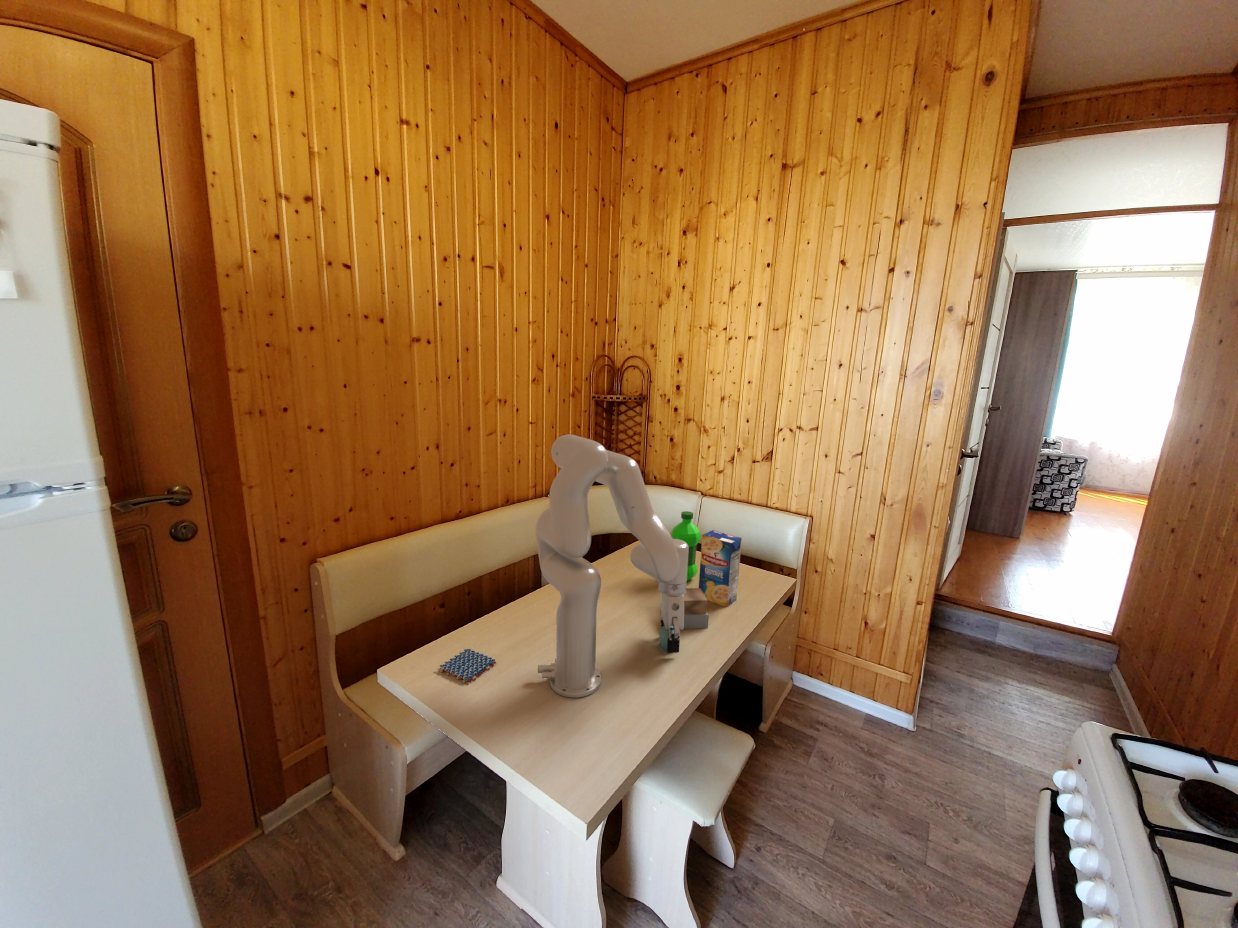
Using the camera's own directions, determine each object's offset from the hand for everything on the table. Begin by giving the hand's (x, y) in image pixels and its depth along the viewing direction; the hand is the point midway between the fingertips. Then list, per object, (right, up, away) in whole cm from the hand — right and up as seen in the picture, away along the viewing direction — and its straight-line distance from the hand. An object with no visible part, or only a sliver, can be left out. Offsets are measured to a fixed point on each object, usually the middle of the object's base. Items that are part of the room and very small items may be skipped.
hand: (669, 642), depth 137 cm
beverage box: (+19, +4, +30) cm, 36 cm away
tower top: (+8, +5, +14) cm, 17 cm away
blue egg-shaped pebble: (0, -1, 0) cm, 1 cm away
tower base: (+8, +1, +15) cm, 17 cm away
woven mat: (-52, -3, -12) cm, 53 cm away
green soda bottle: (+10, +7, +45) cm, 46 cm away
